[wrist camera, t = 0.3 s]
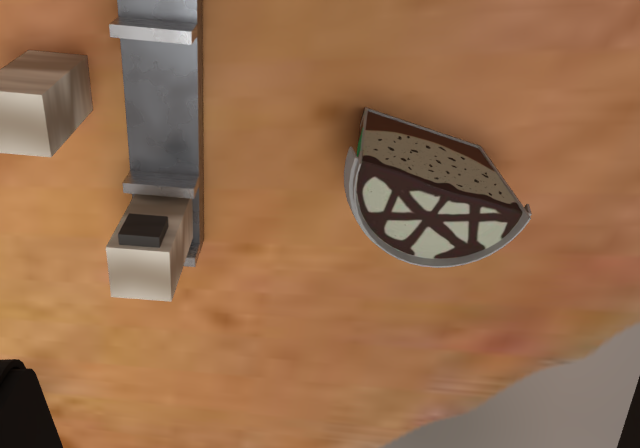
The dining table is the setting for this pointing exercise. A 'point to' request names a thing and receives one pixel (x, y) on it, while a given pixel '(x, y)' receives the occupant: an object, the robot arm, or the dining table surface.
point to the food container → (428, 194)
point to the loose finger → (42, 101)
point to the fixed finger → (150, 247)
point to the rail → (164, 101)
